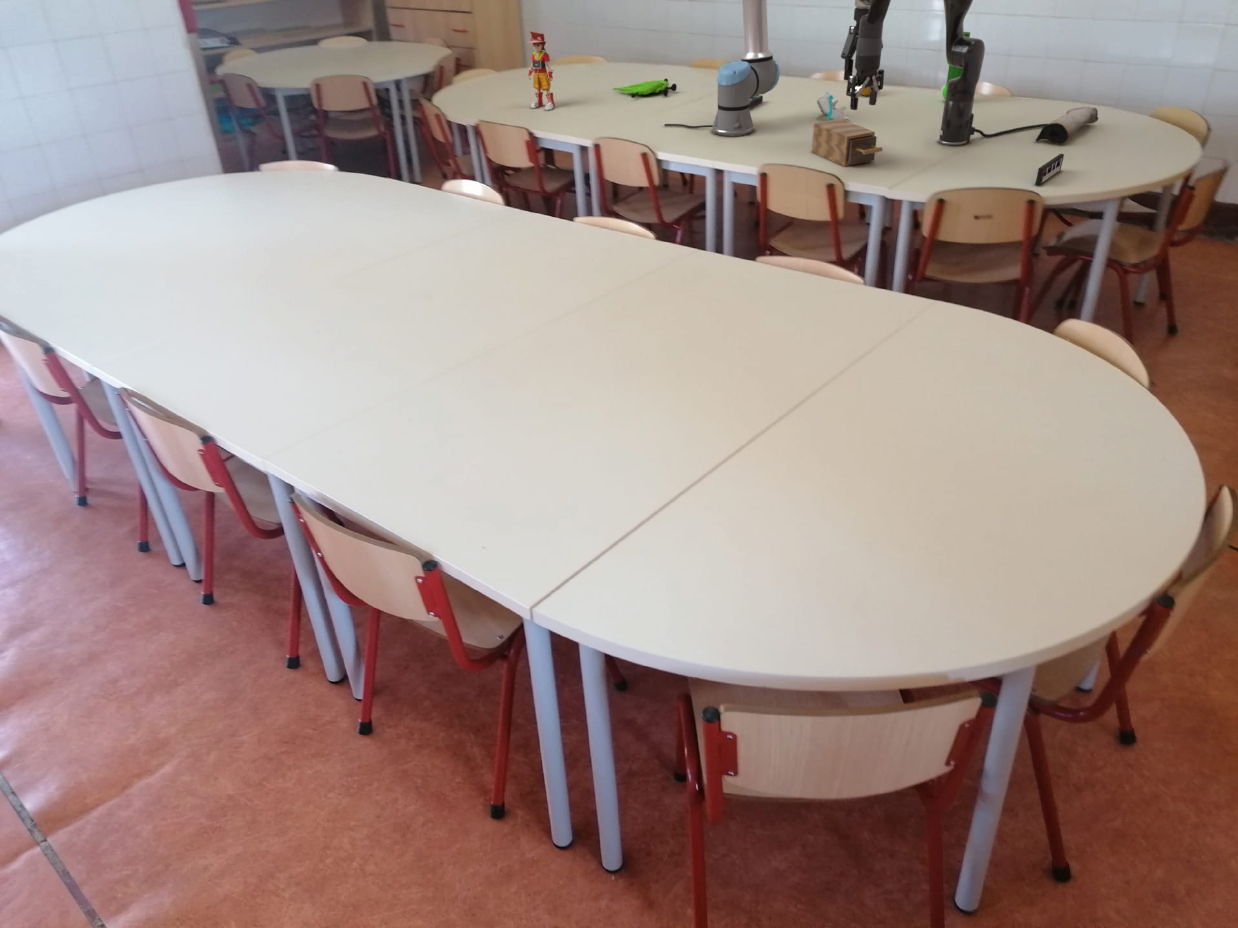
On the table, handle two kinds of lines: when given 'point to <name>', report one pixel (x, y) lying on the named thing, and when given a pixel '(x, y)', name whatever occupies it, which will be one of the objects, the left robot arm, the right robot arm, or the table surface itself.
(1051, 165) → the midi keyboard
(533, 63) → the toy
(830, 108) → the anatomical model
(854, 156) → the drawer
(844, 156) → the cabinet
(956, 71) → the plastic bottle
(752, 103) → the disk drive
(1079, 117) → the rolled mat
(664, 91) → the toy
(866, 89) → the fruit
